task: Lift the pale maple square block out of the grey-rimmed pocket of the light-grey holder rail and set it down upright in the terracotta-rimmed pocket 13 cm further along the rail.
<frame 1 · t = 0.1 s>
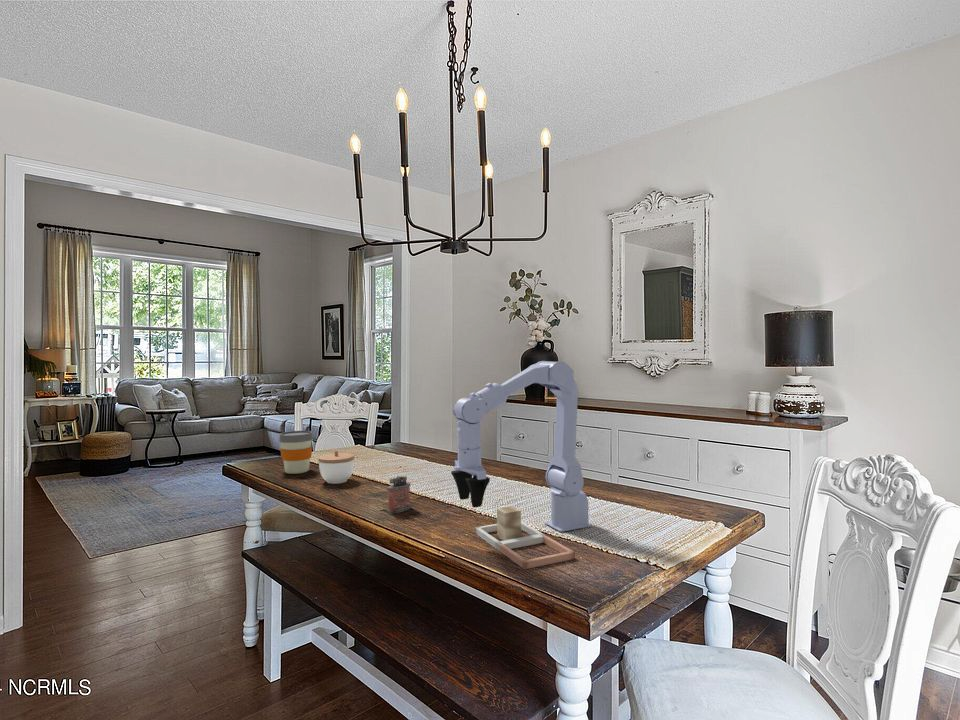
hand: (470, 502, 137), 10 cm above the table, tool pointing down, fingers open, 7 cm apart
maple block: (509, 537, 141), resting in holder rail
reusable coffee cup: (297, 471, 221), on the table
lidded bowl: (337, 481, 202), on the table
lighter: (399, 510, 166), on the table
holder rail: (521, 545, 135), on the table
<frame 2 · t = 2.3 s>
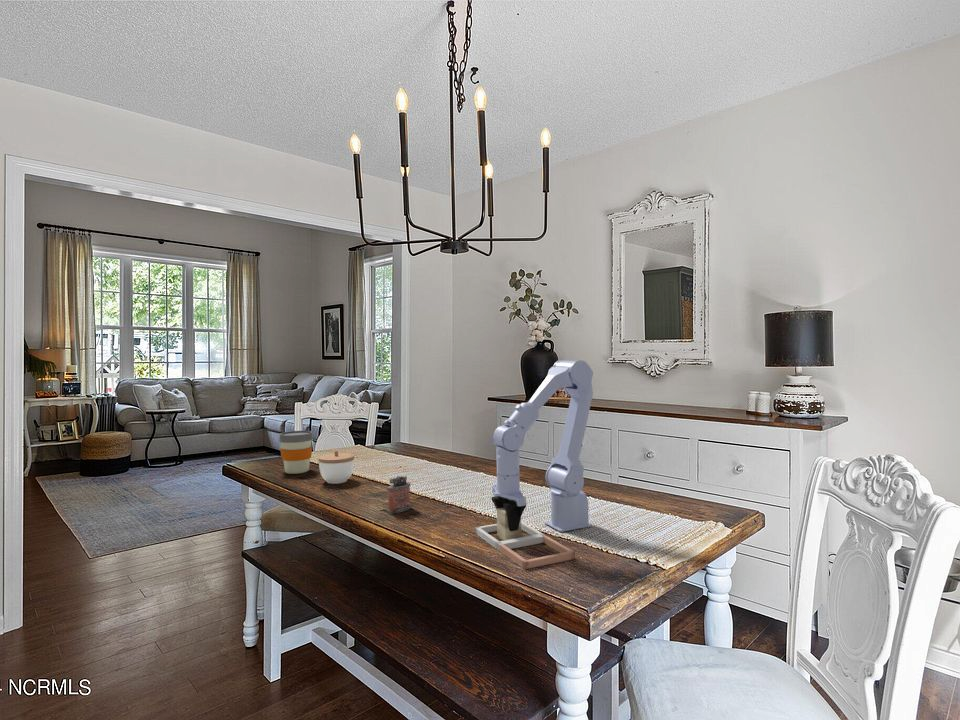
hand: (508, 527, 141), 2 cm above the table, tool pointing down, fingers closed on maple block, 4 cm apart
maple block: (509, 536, 141), resting in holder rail, touching gripper
everything else where it was.
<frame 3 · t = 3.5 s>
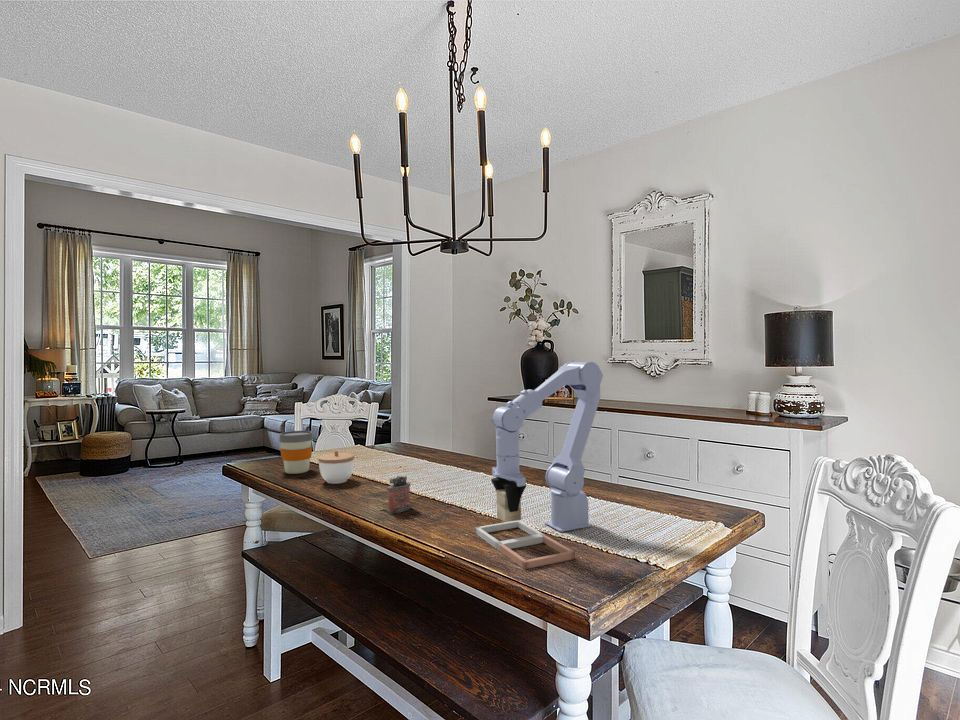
hand: (508, 508, 141), 7 cm above the table, tool pointing down, fingers closed on maple block, 4 cm apart
maple block: (508, 518, 141), point 5 cm above the table, touching gripper
everything else where it was.
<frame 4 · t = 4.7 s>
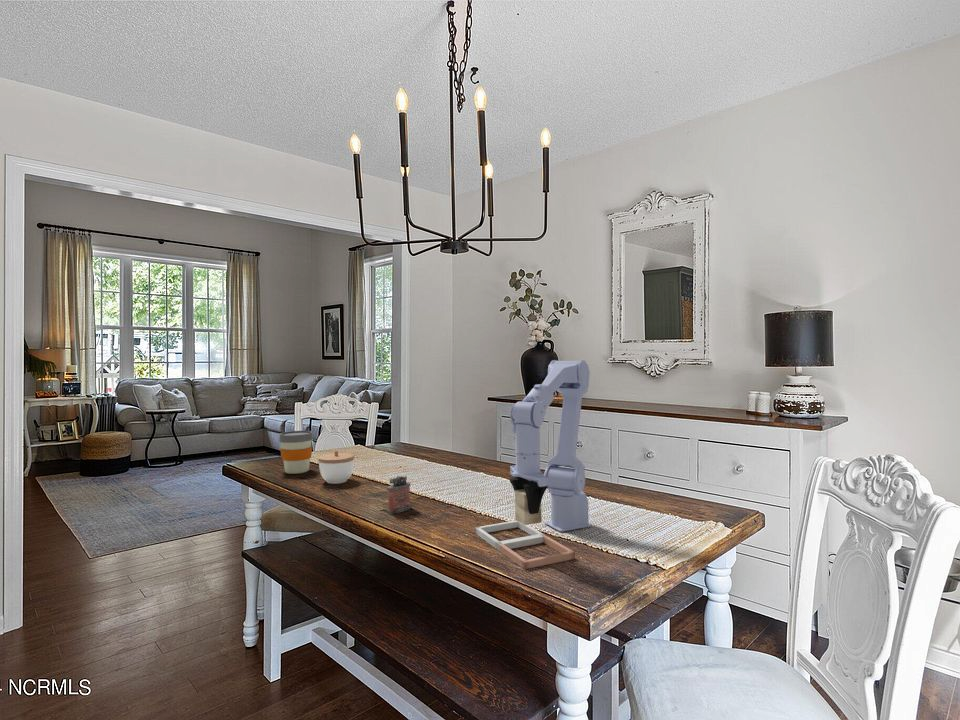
hand: (528, 510, 131), 9 cm above the table, tool pointing down, fingers closed on maple block, 4 cm apart
maple block: (528, 521, 131), point 7 cm above the table, touching gripper
everything else where it was.
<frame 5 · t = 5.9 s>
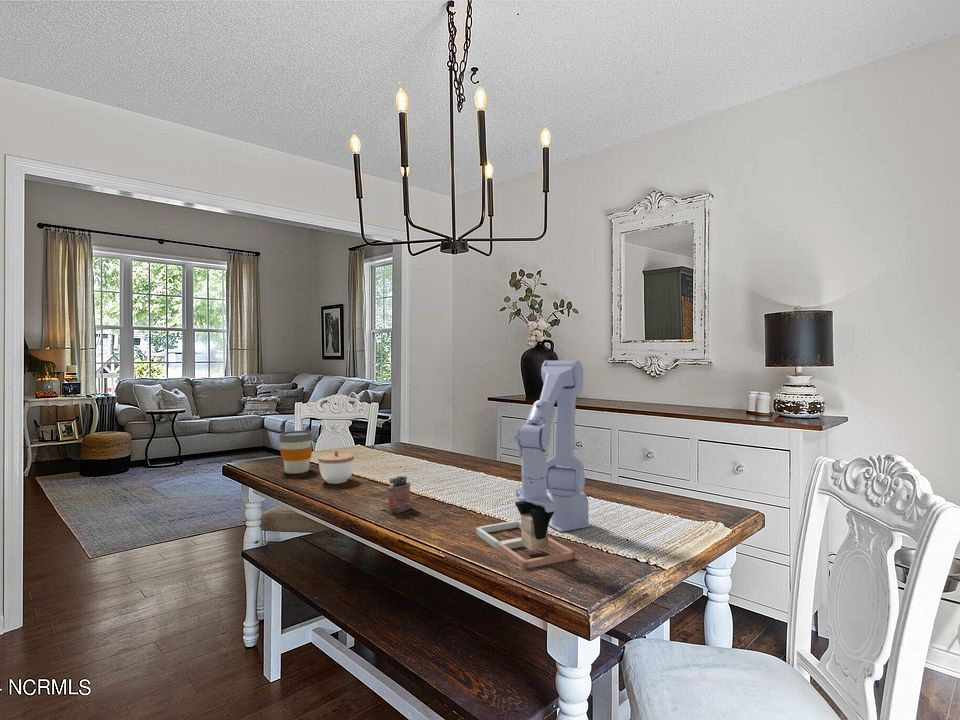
hand: (535, 535, 129), 4 cm above the table, tool pointing down, fingers closed on maple block, 4 cm apart
maple block: (534, 545, 129), point 2 cm above the table, touching gripper
everything else where it was.
when the fingers open (4 cm above the table, at t = 7.0 s): maple block drops 1 cm, resting in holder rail.
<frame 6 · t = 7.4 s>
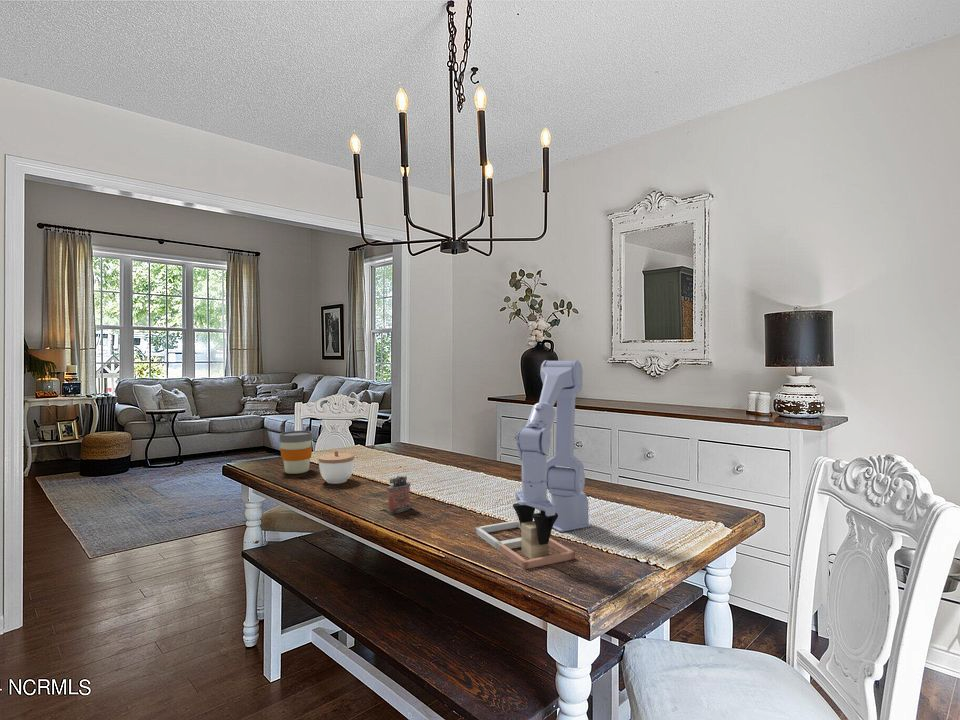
hand: (535, 538, 129), 4 cm above the table, tool pointing down, fingers open, 7 cm apart
maple block: (534, 554, 129), resting in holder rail
everything else where it was.
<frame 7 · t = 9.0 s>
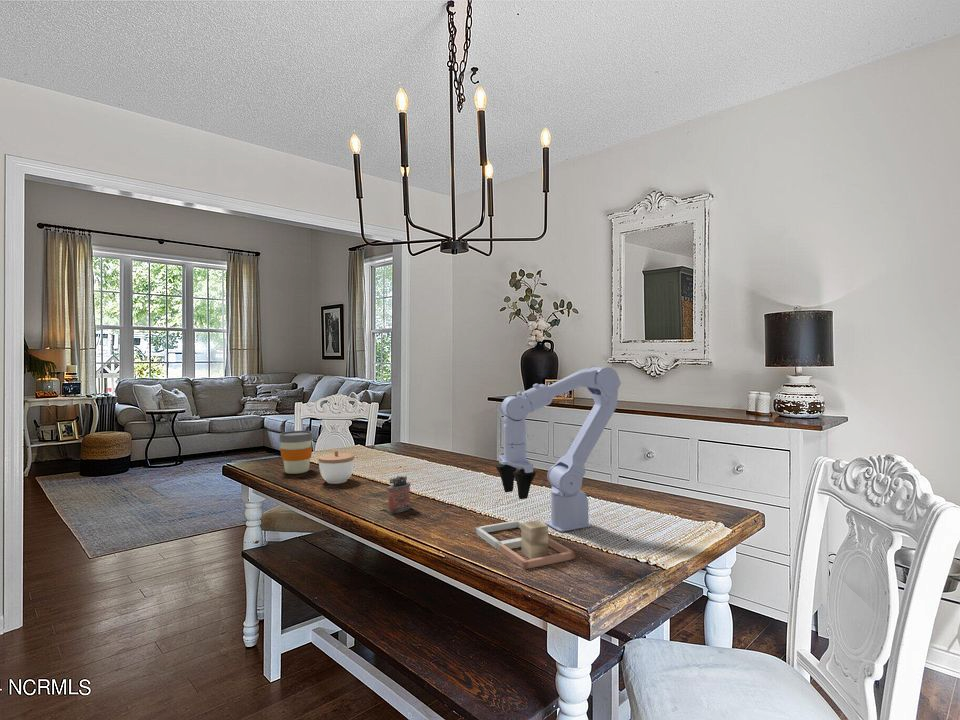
hand: (515, 495, 145), 9 cm above the table, tool pointing down, fingers open, 7 cm apart
nothing on the table moved.
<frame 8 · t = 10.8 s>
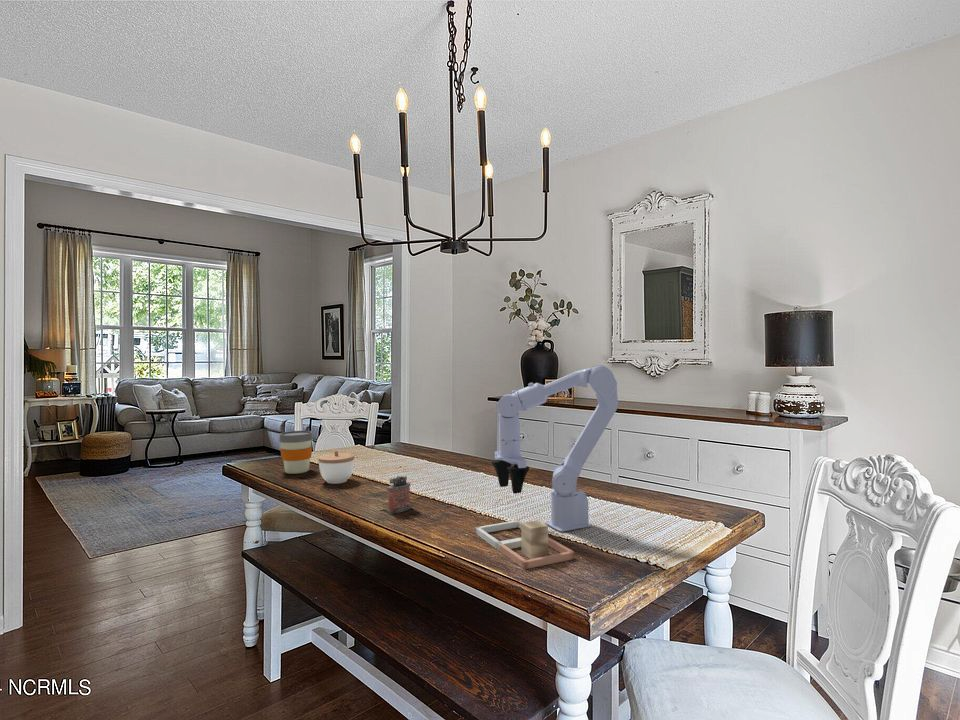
hand: (510, 489, 150), 9 cm above the table, tool pointing down, fingers open, 7 cm apart
nothing on the table moved.
at the end: maple block 0.1 cm from the target spot on the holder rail, point 0.0 cm above the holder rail's base; maple block tilted 0°; the gripper is holding nothing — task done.
